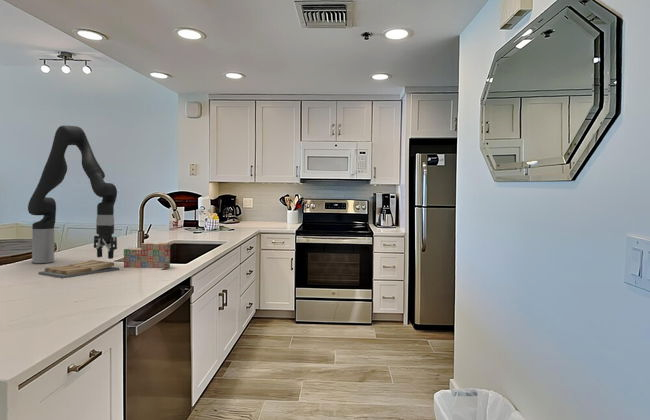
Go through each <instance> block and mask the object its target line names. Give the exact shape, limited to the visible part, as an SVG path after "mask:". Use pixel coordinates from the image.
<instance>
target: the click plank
mask: <svg viewBox="0 0 650 420" xmlns="http://www.w3.org/2000/svg"><path fill="white" fill-rule="evenodd" d="M69 265H70V266H77V267H85V268H91V271H95V270H99V269H103V268H107V267H115V262H111V261H104V260H103V261H102V260H95V259H94V260H93V259H90V260H85V261H80V262H75V263H71V264H69Z"/></svg>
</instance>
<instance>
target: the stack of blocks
mask: <svg viewBox="0 0 650 420" xmlns="http://www.w3.org/2000/svg"><path fill="white" fill-rule="evenodd" d="M140 246H141V247H129V248H123V268H131V269H132V268H138V269H141V268H142V269H167V268H170V267H171V242H143V243H141V245H140Z"/></svg>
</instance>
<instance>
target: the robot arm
mask: <svg viewBox="0 0 650 420" xmlns="http://www.w3.org/2000/svg"><path fill="white" fill-rule="evenodd" d="M68 146H76V147H77V148H78V150H79V151H80V154H81V166H82V170H83V171H84V173H85V175H86V176H87V178H88V179H89V182H90V186H91V188H92V191H93V193H94V195H95V196H97V197H99V198H102V200H101V202H98V203H97V205H96V226H95V228H96V229H95V230H96V232H95V233H96V235H94V237H93V249H95V250H96V257H97V258H102V257H103V247H104V246H105V248H107V258H108V259H109V260H111V259H114V253H115V250H117V249H118V238H117V236H113V235H114V234H115V217H114V215H115V214H114V213H115V212H114V211H115V207H114V206H115V204H116V199H117V195H118V190H117V186H116V185H115V184H114V183H111V182H106V181H105V180H104V179H105V177H106V173H105V172H104V170H103V169H102V167H101V166H100V163H99V162H98V160H97V159H96V157H95V154H94V152H93V150H92V147H91V145H90V142H89V139H88V137H87V135H86V133H85V131H84V129H83V128H82V127H80V126H77V125H59V127H58V128H57V129H56V130H55V133H54V137H53V142H52V146H51V150H50V152H49V154H48V157H47V161H46V163H45V166H44V168H43V170H42V173H41V176H40V179H39V181H38V183H37V186H36V187H35V190H34V192H33V194H32V195H31V197H30V199H29V200H28V204H27V211H28V213H29V214H30V215H31V216H42V219H40V220H38V221H35V222H34V223H32V227H31V228H32V231H31V232H32V233H31V235H32V239H31V241H32V243H31V244H32V245H31V252H32V253H31V262H32V264H47V263H53V262H55V224H56V217H57V216H56V215H57V204H56V202H57V201H55V199H54V198H53V197H48V196H47V195H48V194H49V193H51V191H53V190H54V189H55V188H56V187H58V186H60V184H61V183H62V182H63V181H64V179H65V177H66V174H67V172H68V164H67V161H66V156H65V155H66V152H67V148H68Z"/></svg>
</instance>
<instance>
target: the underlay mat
mask: <svg viewBox="0 0 650 420" xmlns="http://www.w3.org/2000/svg"><path fill="white" fill-rule="evenodd" d="M113 271H120V267H116V266H112V267H107V268H103V269H99V270H95V271H91V272H85V273H78V274H71V275H65V274H59V273H52V272H46V271H45V270H44V271H39V272H38V273H37V274H38V275H39V276H40V275H41V276H46V277H47V276H48V277H52V278H53V277H54V278H58V279H67V278H74V277H80V276H87V275H94V274H101V273H106V272H113Z"/></svg>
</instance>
